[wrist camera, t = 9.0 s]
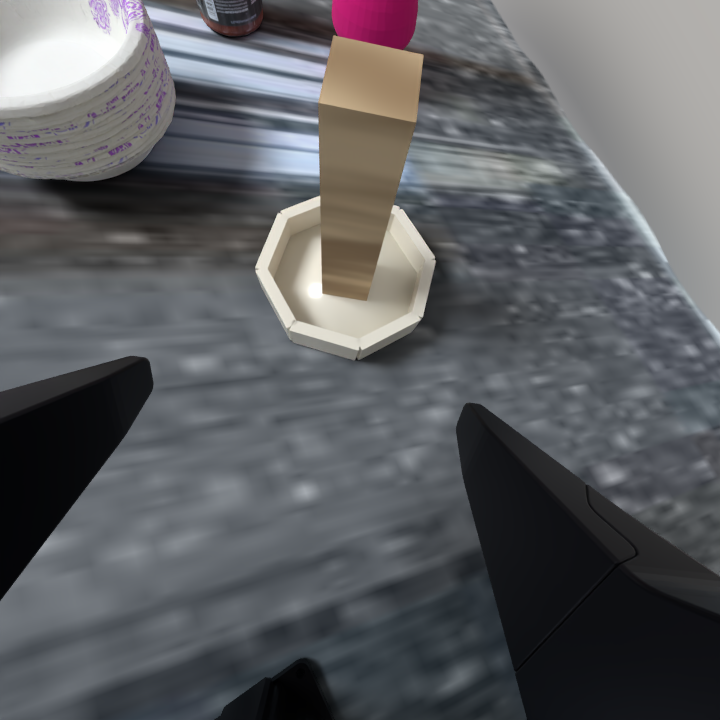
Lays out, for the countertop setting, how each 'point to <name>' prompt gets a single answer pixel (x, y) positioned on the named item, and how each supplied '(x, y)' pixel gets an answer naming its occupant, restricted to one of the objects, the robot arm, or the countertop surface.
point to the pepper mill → (376, 21)
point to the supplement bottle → (232, 15)
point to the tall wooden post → (362, 156)
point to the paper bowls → (80, 88)
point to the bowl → (339, 314)
